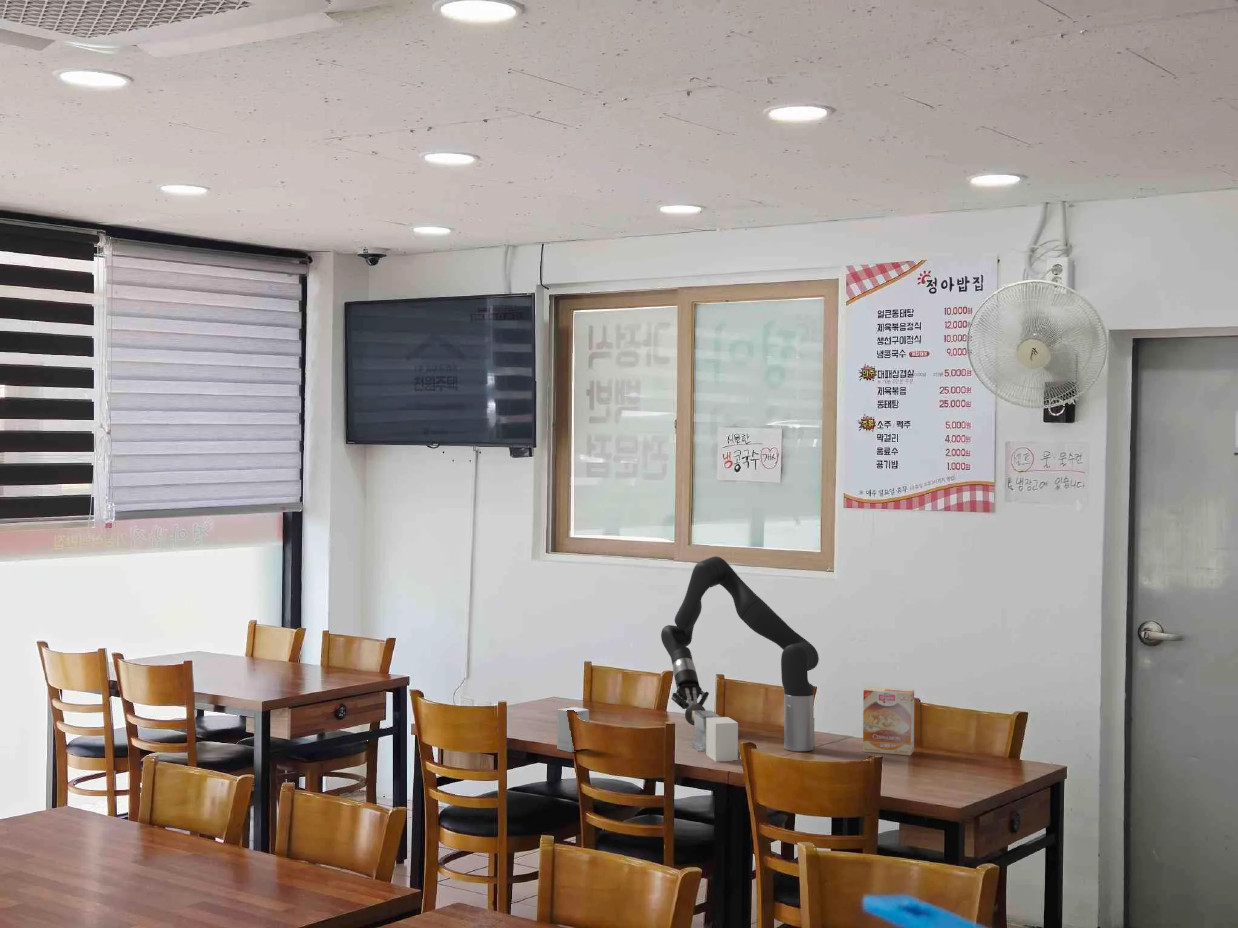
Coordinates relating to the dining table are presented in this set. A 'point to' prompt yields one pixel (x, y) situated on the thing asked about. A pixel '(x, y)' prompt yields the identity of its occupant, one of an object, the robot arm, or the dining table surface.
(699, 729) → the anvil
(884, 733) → the coffeecake box
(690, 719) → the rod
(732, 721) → the white rectangular block
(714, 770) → the dining table surface
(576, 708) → the supplement box
